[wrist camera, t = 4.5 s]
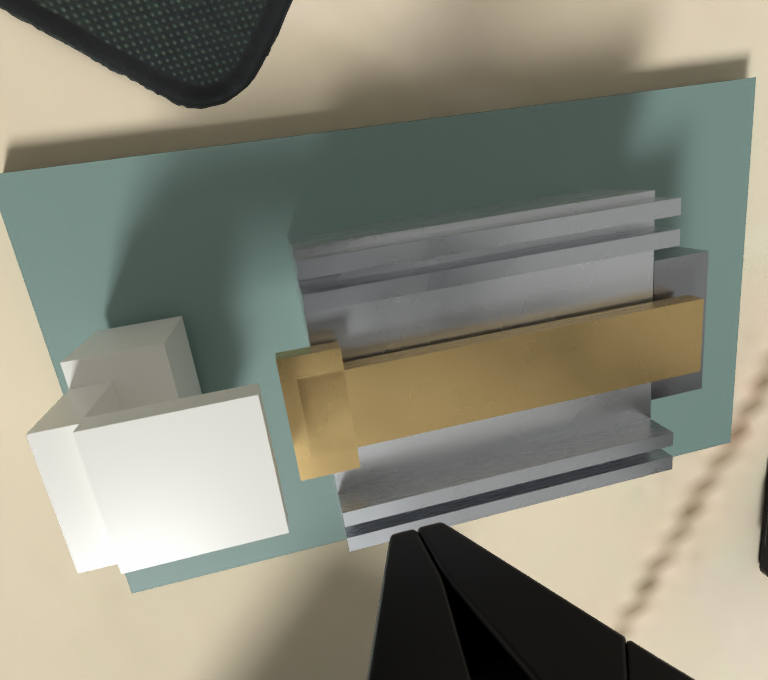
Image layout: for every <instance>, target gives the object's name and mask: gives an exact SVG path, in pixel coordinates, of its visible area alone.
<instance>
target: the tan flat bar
mask: <svg viewBox="0 0 768 680" xmlns="http://www.w3.org/2000/svg"><path fill="white" fill-rule="evenodd" d="M703 305H704V299H703V298H699V297H695V296H691V295H684V296H679V297H673V298H668V299H663V300H658V301H653V302H648V303H643V304H638V305H633V306H628V307H623V308H618V309H612V310H607V311H602V312H597V313H592V314H587V315H582V316H577V317H572V318H567V319H562V320H556V321H551V322H546V323H541V324H536V325H531V326H526V327H521V328H516V329H511V330H506V331H501V332H495V333H490V334H485V335H480V336H475V337H470V338H465V339H460V340H455V341H450V342H445V343H440V344H434V345H429V346H424V347H419V348H414V349H409V350H404V351H399V352H394V353H389V354H384V355H379V356H373V357H368V358H363V359H358V360H353V361H348V362H343V360H342V354H341V348H340V346H339V343H338V341H336V342H331V343H326V344H320V345H315V346H310V347H305V348H299V349H294V350H289V351H283V352H278V353H276V364H277V368H278V373H279V378H280V383H281V388H282V392H283V397H284V402H285V407H286V412H287V416H288V421H289V426H290V431H291V436H292V441H293V445H294V450H295V455H296V460H297V465H298V469H299V474H300V479H301V481H304V480H308V479H313V478H317V477H321V476H326V475H330V474H334V473H339V472H343V471H347V470H352V469H356V468H361V467H360V461H359V455H358V449H357V448H358V447H362V446H367V445H371V444H376V443H380V442H385V441H389V440H394V439H398V438H403V437H407V436H412V435H416V434H421V433H425V432H430V431H434V430H439V429H443V428H448V427H452V426H457V425H461V424H466V423H470V422H475V421H479V420H484V419H488V418H493V417H497V416H502V415H506V414H510V413H515V412H519V411H524V410H528V409H533V408H537V407H542V406H546V405H551V404H555V403H560V402H564V401H569V400H573V399H578V398H582V397H587V396H591V395H596V394H600V393H605V392H609V391H614V390H618V389H623V388H627V387H632V386H636V385H641V384H645V383H650V382H654V381H659V380H663V379H668V378H672V377H677V376H681V375H685V374H690V373H694V372H699V371H700V366H701V345H702V325H703Z"/></svg>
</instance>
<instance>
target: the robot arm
mask: <svg viewBox="0 0 768 680" xmlns="http://www.w3.org/2000/svg"><path fill="white" fill-rule="evenodd" d="M759 567H760V571H761V572H762V573H763V574H765V575H766V576H767V577H768V483H767V494H766V504H765V514H764V525H763V535H762V545H761V556H760V566H759ZM367 680H695V679H693V678H691V677H690V676H688V675H686V674H685V673H683V672H681V671H680V670H678V669H676V668H675V667H673V666H671V665H670V664H668V663H666V662H665V661H663V660H661V659H660V658H658V657H656V656H655V655H653V654H652V653H650V652H648V651H647V650H645V649H644V648H642V647H640V646H639V645H637V644H636V643H634V642H632V641H627V643H626V639H625V637H624V636H622V635H621V634H619V633H618V632H616V631H615V630H613V629H611V628H610V627H608V626H607V625H605V624H603V623H602V622H600V621H599V620H597V619H595V618H594V617H592V616H591V615H589V614H588V613H586V612H584V611H583V610H581V609H580V608H578V607H576V606H575V605H573V604H572V603H570V602H568V601H567V600H565V599H564V598H562V597H561V596H559V595H557V594H556V593H554V592H553V591H551V590H549V589H548V588H546V587H545V586H543V585H541V584H540V583H538V582H537V581H535V580H533V579H532V578H530V577H529V576H527V575H526V574H524V573H522V572H521V571H519V570H518V569H516V568H514V567H513V566H511V565H510V564H508V563H506V562H505V561H503V560H502V559H500V558H499V557H497V556H495V555H494V554H492V553H491V552H489V551H487V550H486V549H484V548H483V547H481V546H479V545H478V544H476V543H475V542H473V541H472V540H470V539H468V538H467V537H465V536H464V535H462V534H460V533H459V532H457V531H456V530H454V529H452V528H451V527H449V526H448V525H446V524H444V523H441V522H438V523H434V524H430V525H426V526H423V527H420V528H419V529H418V531H416V530H413V529H411V530H407V531H403V532H399V533H395V534H393V535H391V537H390V540H389V547H388V553H387V559H386V565H385V571H384V577H383V583H382V589H381V595H380V601H379V607H378V614H377V620H376V626H375V632H374V638H373V644H372V650H371V656H370V662H369V668H368V674H367Z"/></svg>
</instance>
